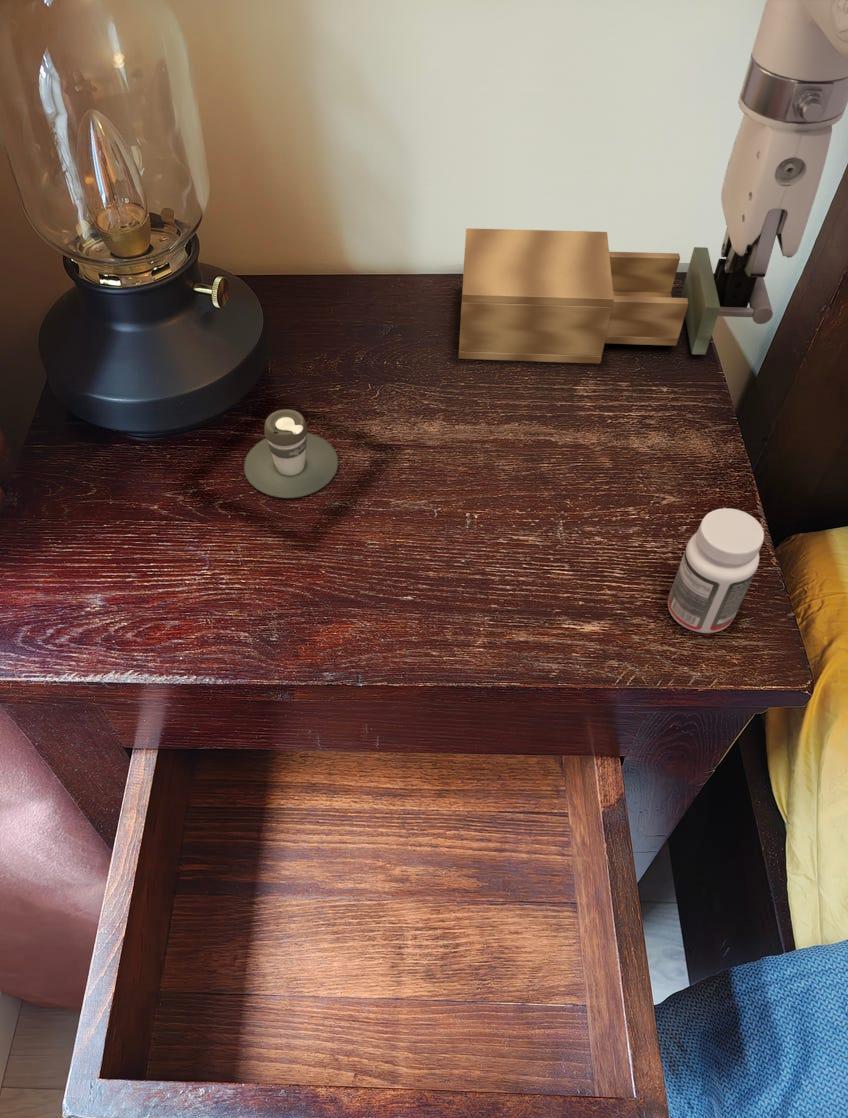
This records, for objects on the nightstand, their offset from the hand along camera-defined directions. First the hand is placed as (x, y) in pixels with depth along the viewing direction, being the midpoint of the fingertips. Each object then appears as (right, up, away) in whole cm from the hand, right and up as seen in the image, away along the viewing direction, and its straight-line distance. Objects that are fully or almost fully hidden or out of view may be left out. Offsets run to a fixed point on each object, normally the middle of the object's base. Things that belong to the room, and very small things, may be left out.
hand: (726, 304), depth 84 cm
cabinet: (-17, -1, +4) cm, 17 cm away
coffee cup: (-38, -16, -6) cm, 42 cm away
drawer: (-5, -1, +2) cm, 5 cm away
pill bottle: (-8, -28, -16) cm, 33 cm away
